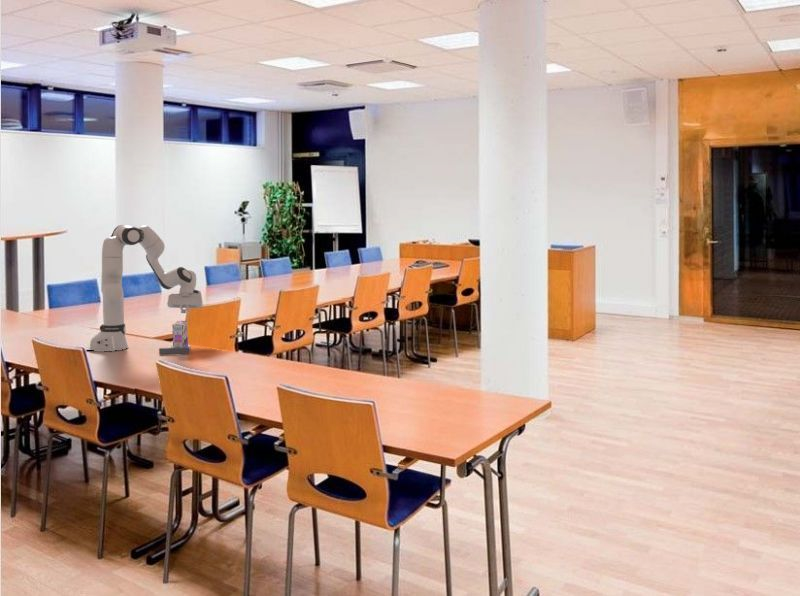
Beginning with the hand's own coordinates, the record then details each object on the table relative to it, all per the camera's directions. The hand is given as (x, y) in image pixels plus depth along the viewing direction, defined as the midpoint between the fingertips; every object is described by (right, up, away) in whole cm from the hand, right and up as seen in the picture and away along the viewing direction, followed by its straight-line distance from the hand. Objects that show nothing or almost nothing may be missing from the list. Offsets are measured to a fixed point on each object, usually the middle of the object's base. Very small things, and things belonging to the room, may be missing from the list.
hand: (183, 312), depth 436 cm
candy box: (+4, -21, -18) cm, 29 cm away
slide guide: (+2, -21, -19) cm, 29 cm away
